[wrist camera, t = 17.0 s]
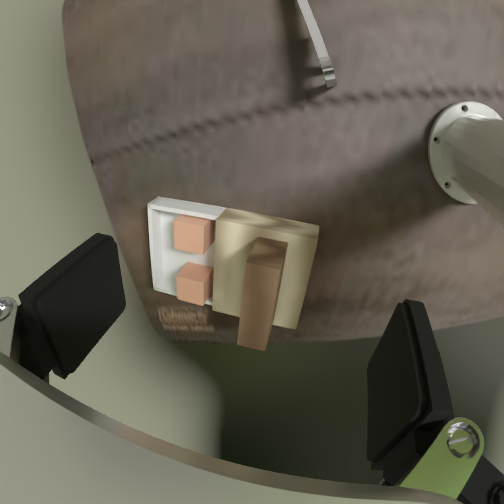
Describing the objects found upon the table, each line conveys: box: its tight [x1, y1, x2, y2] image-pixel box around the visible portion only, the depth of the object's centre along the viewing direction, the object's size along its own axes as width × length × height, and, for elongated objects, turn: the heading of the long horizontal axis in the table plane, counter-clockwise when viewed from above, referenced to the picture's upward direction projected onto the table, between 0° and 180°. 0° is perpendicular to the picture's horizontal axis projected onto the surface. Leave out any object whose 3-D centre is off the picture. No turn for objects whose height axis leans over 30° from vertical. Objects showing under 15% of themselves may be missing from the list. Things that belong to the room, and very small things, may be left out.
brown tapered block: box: [237, 237, 288, 351], centre depth 36 cm, size 4×12×6 cm, turn 174°
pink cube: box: [174, 214, 215, 255], centre depth 39 cm, size 4×4×4 cm
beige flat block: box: [212, 208, 319, 330], centre depth 40 cm, size 12×14×4 cm
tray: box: [148, 197, 226, 306], centre depth 42 cm, size 10×14×3 cm
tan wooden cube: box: [176, 262, 214, 306], centre depth 43 cm, size 4×4×4 cm
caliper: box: [297, 0, 337, 88], centre depth 23 cm, size 20×1×6 cm, turn 17°
